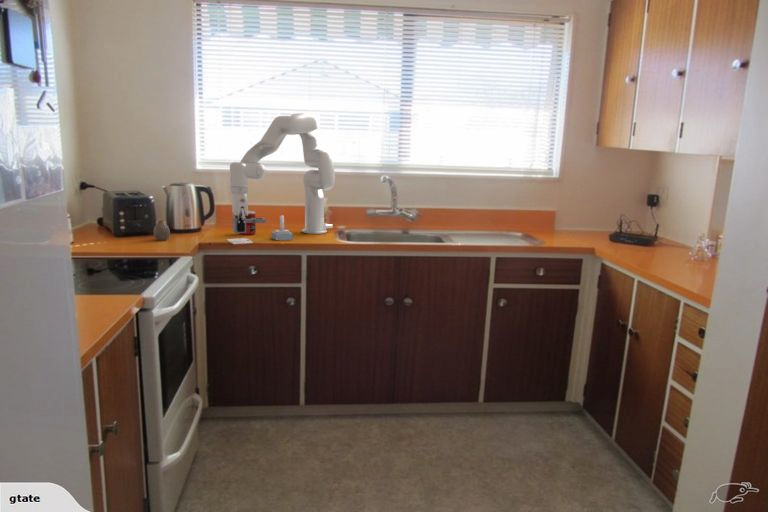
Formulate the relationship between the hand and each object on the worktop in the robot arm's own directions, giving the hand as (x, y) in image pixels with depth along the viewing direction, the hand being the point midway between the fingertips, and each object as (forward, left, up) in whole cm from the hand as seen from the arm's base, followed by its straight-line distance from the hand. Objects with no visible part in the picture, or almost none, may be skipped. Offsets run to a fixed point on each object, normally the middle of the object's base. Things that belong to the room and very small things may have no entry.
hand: (239, 230), depth 251 cm
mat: (0, 0, -5) cm, 5 cm away
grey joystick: (-20, 0, -5) cm, 21 cm away
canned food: (-9, -19, -5) cm, 22 cm away
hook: (-5, 0, -1) cm, 5 cm away
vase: (+31, -16, -5) cm, 35 cm away
